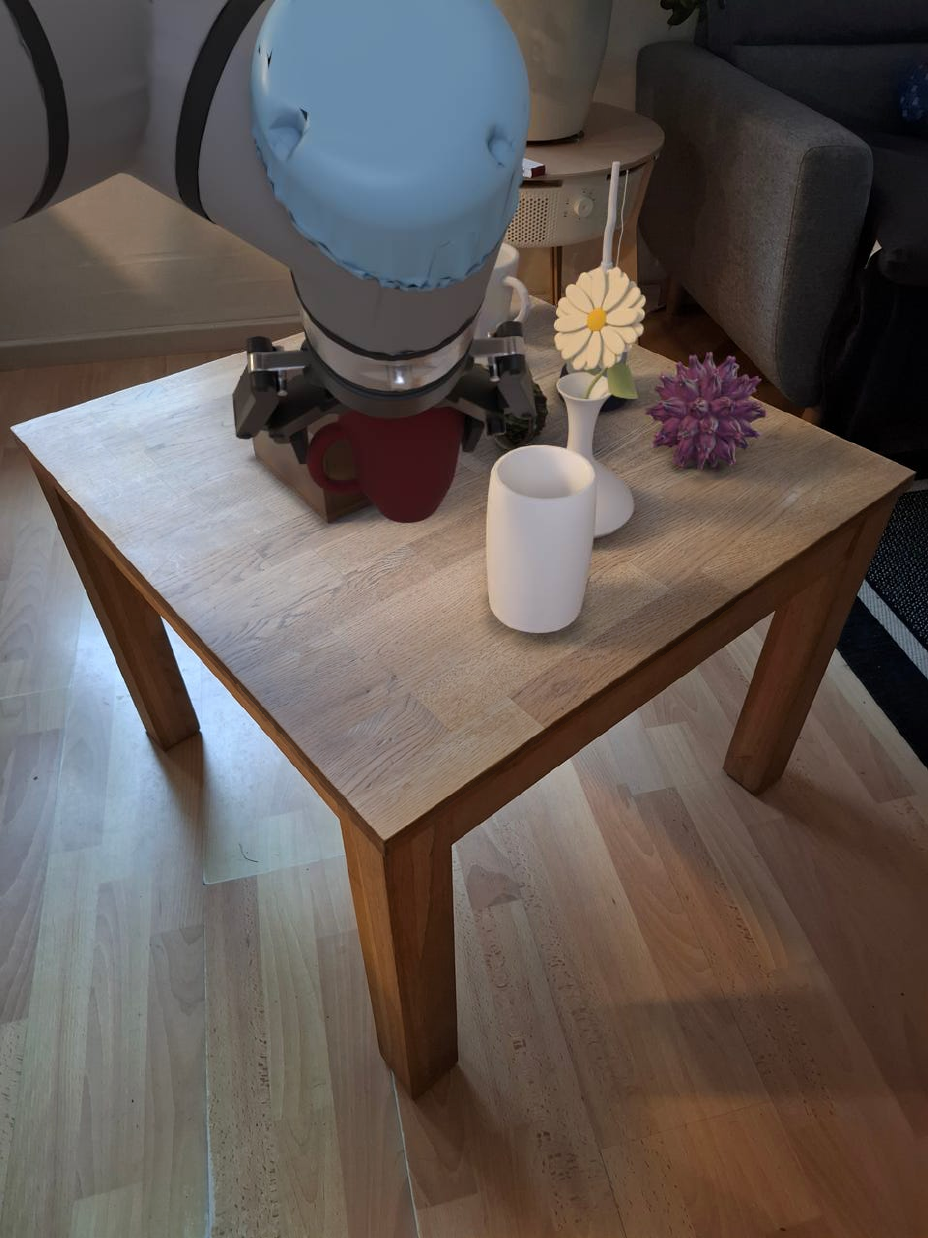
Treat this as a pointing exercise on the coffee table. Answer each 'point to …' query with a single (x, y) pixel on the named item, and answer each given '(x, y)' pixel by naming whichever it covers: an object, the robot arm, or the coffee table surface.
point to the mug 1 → (394, 459)
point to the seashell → (523, 423)
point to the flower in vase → (598, 335)
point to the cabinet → (298, 477)
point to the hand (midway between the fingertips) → (385, 438)
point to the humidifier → (606, 264)
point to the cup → (539, 536)
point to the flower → (706, 411)
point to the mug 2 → (502, 293)
